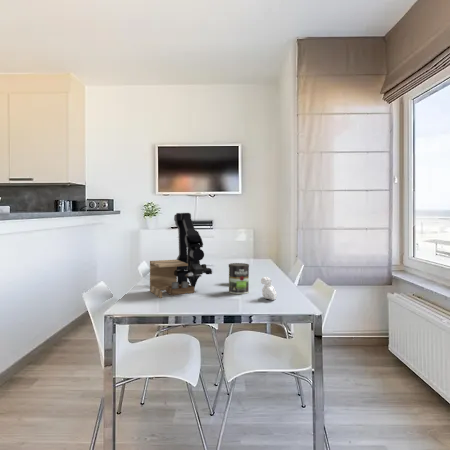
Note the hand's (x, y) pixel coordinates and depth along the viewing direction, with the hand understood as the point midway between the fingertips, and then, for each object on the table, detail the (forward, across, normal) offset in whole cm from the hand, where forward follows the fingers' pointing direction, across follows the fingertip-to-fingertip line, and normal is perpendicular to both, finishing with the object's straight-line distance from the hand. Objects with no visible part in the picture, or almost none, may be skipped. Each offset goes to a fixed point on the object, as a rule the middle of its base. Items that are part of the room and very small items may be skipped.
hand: (193, 288), depth 200 cm
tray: (+1, -7, 0) cm, 7 cm away
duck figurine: (+2, +26, -31) cm, 40 cm away
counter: (+1, -13, 0) cm, 13 cm away
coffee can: (+2, +20, -12) cm, 23 cm away
